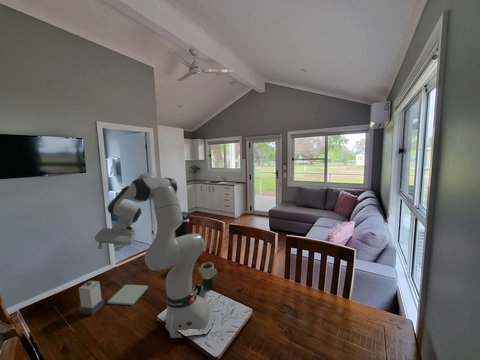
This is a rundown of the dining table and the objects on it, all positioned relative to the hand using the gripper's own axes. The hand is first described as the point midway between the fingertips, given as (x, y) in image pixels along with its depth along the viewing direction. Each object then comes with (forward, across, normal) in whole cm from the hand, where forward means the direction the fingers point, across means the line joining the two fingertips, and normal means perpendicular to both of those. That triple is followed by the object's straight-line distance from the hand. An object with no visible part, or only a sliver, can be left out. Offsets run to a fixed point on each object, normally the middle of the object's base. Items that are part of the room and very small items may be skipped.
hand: (107, 249), depth 111 cm
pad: (+16, +16, +16) cm, 28 cm away
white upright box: (+23, +2, +11) cm, 26 cm away
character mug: (+10, +58, +11) cm, 60 cm away
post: (+24, +2, +14) cm, 28 cm away
